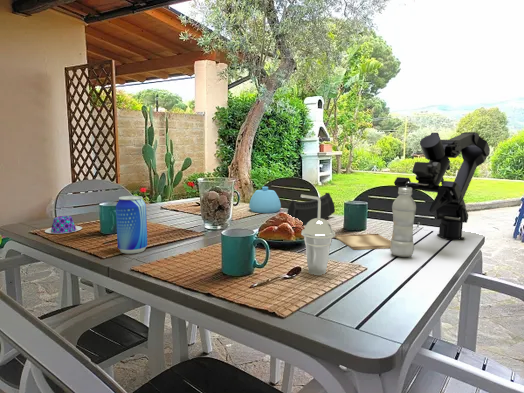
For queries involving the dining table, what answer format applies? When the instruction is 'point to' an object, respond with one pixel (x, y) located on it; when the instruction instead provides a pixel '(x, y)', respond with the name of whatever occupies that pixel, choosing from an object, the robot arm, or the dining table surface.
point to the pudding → (63, 225)
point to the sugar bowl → (265, 201)
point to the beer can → (131, 224)
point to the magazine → (311, 209)
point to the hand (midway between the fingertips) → (415, 209)
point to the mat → (364, 241)
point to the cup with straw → (317, 241)
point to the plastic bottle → (403, 223)
